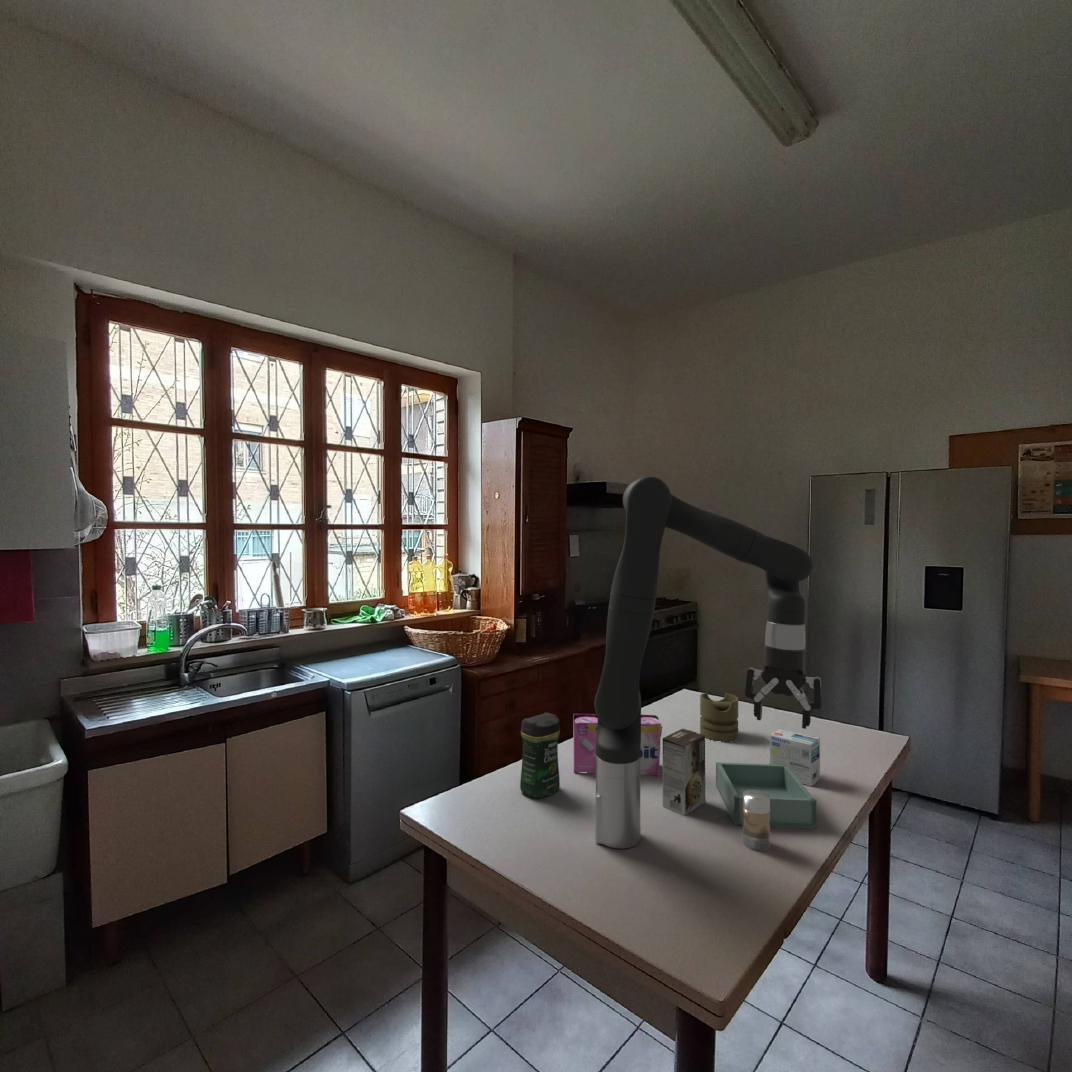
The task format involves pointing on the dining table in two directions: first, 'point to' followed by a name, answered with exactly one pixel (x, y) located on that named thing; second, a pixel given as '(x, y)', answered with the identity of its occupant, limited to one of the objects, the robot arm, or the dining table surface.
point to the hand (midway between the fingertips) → (781, 723)
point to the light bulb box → (797, 754)
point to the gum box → (587, 743)
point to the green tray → (778, 781)
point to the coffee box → (683, 771)
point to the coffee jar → (540, 755)
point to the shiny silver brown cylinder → (756, 820)
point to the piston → (719, 718)
